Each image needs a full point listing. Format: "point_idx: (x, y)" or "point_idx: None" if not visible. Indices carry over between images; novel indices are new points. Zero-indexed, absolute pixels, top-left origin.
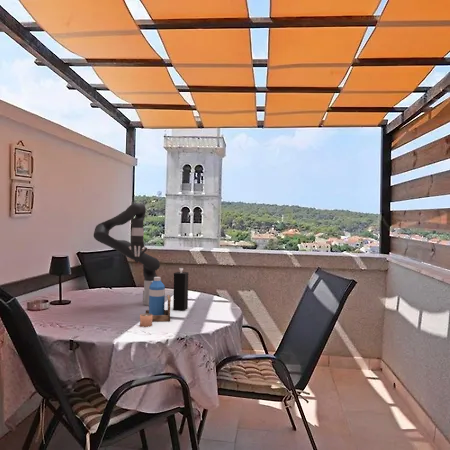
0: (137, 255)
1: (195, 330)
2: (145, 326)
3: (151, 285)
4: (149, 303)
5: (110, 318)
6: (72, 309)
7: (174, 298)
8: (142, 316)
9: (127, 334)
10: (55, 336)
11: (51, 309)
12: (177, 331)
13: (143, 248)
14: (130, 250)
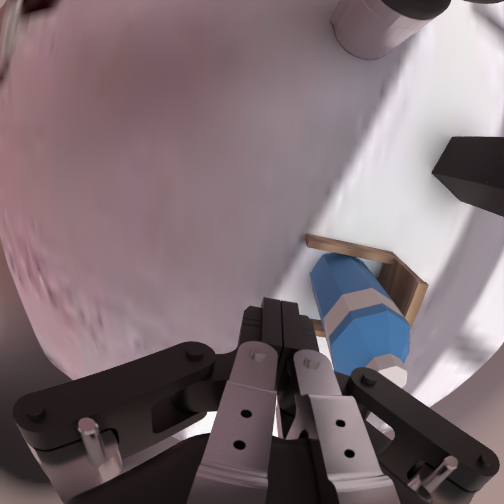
0: (277, 401)
1: None
2: None
3: (339, 362)
4: (318, 303)
5: (167, 241)
6: (55, 76)
7: (460, 181)
8: None
9: (214, 411)
10: (66, 368)
11: (12, 79)
12: None
13: (422, 491)
14: (120, 454)
